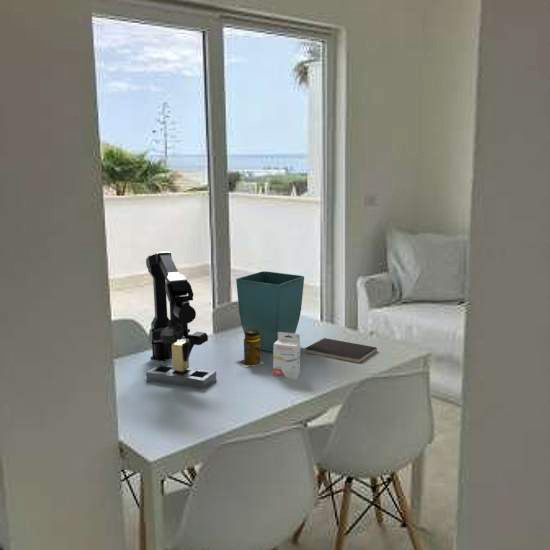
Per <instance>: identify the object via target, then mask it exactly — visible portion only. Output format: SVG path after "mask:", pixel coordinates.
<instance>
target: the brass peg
mask: <svg viewBox="0 0 550 550" xmlns="http://www.w3.org/2000/svg"><path fill="white" fill-rule="evenodd" d="M185 342H186V341H180V340H177V342H176V343H174V344H172V357H171V360H172V364H171V365H172V366H173V370H175V371H182V372H183V371H185V370H186V369H188V368H190V359H189V358H190V357H189V358H188V360H187V361H186V362H185V358H184V346H183V345H182V344H184V343H185Z"/></svg>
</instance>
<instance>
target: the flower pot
mask: <svg viewBox="0 0 550 550" xmlns="http://www.w3.org/2000/svg"><path fill="white" fill-rule="evenodd" d="M235 282H236V294H237V303H238V312H239V313H238V314H239V319H240V324H241V327H242V330H243V334H244V335H245V331H247V330H257V331H259V338H260V350H262V351H267V352H271V353H273V344H274V343H275V342H276V341H277V340H278V332H285V333H294V334H296V332H297V329H298V325H299V321H300V317H301V314H302V313H301V311H302V305H303V304H302V303H303V296H304V286H305V285H304V283H305V275H299V274H291V273H282V272H274V271H263V270H262V271H259V272H256V273H252V274H248V275H245V276H241V277H238V278H235ZM285 337H287V338H292V336H289V335H288V336H285Z"/></svg>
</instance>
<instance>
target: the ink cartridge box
mask: <svg viewBox="0 0 550 550" xmlns="http://www.w3.org/2000/svg"><path fill="white" fill-rule="evenodd" d="M288 335H289V336H292V338H287V337H285V336H288ZM272 353H273V354H272V357H273V359H272V363H273V365H272V367H273V368H272V369H273V371H272V373H273V374H272V375H273V376H274V377H275V376H276V377H281V378H290V379H297V378H298V376H300V374H301V340H300V333H295V334H294V333H285V332H278V340H277V341H276V342H275V343H274V344H273V352H272Z"/></svg>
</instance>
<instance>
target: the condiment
mask: <svg viewBox="0 0 550 550" xmlns="http://www.w3.org/2000/svg"><path fill="white" fill-rule="evenodd" d="M243 358H244V359H243V360H237V361H235V363H236V364H238V365H240V366H241V367H243V368H249V367H254V366H255V367H256V366H260V365H264V364H265V362H264V361H262V360H261V349H260V338H259V331H257V330H247V331H245V334H244V339H243Z"/></svg>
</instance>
